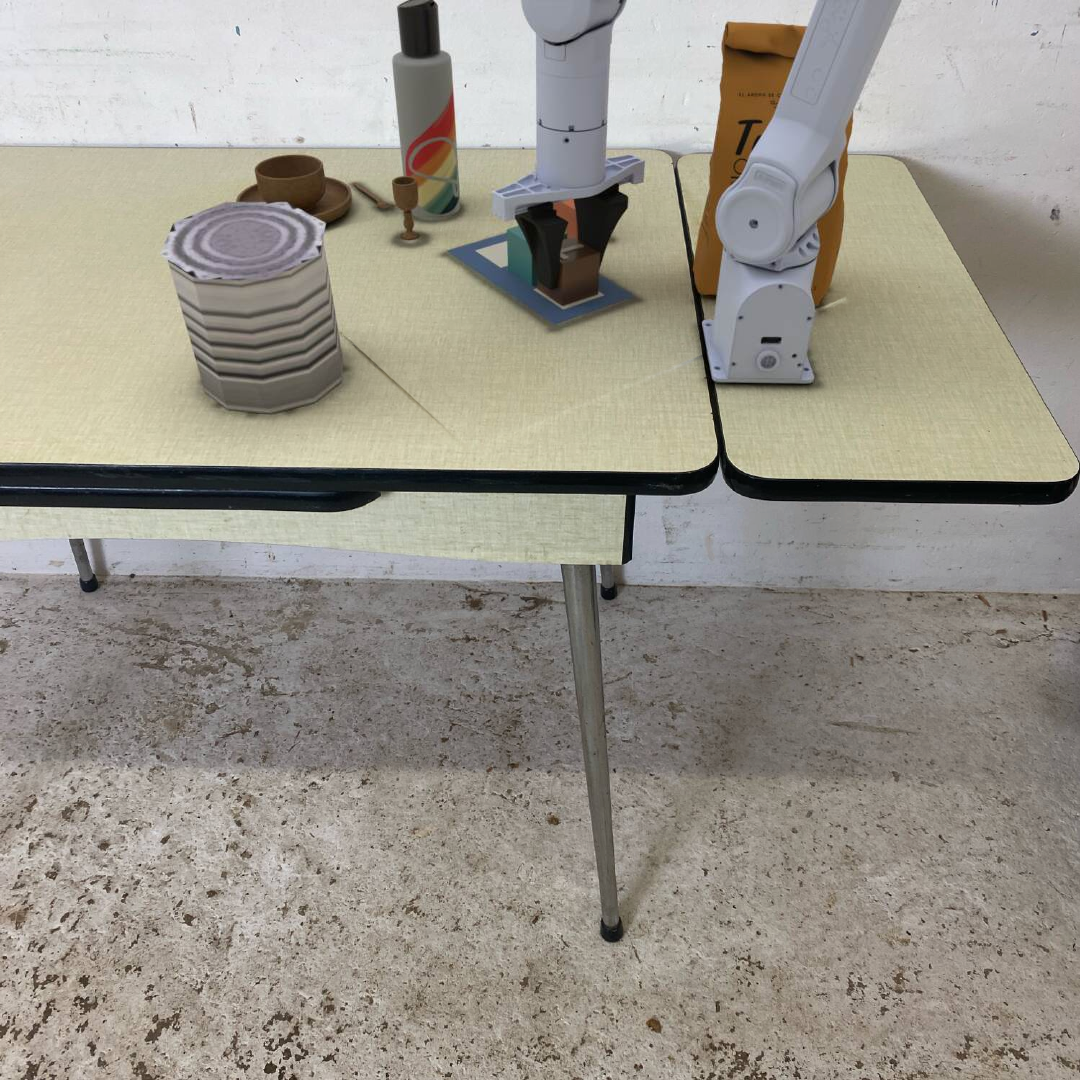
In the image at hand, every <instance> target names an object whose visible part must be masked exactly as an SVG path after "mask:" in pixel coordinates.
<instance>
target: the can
mask: <svg viewBox="0 0 1080 1080" xmlns="http://www.w3.org/2000/svg"><path fill="white" fill-rule="evenodd" d="M326 226H327V224H326V223H325V222H323V221H321V220H319V219H317V218H315V217H314V216H312V215H310V214H308V213H306V212H304V211H302V210H301V209H299V208H297V207H295V206H293V205H291V204H289V203H288V202H236V201H225V202H222V203H219V204H217V205H214V206H212V207H209V208H207V209H204V210H201V211H200V212H197V213H194V214H191V215H189V216H187V217H184V218H182V219H179V220H176V221H174V222H172V226H171V228H170V230H169V232H168V235H167V238H166V240H165V242H164V245H163V247H162V249H161V252H160V253H159V254H160V256H161V257H163V258H164V259H166V260H167V263H168V267H169V270H170V274H171V278H172V281H173V285H174V288H175V291H176V295H177V299H178V302H179V307H180V309H181V314H182V316H183V320H184V323H185V327H186V330H187V334H188V337H189V341H190V344H191V348H192V352H193V355H194V359H195V362H196V366H197V370H198V373H199V377H200V380H201V383H202V388H203V391H204V393H205V394H206V395H208V396H209V397H210V398H211V399H212V400H214V401H216V402H217V403H218V404H219V405H221V406H222V407H224V408H225V409H226V410H227V411H237V412H246V413H257V414H266V415H272V414H276V413H280V412H284V411H288V410H292V409H295V408H299V407H304V406H307V405H311V404H315V403H317V402H318V401H320V400H321V399H322V398H323V397H324V396H325V395H327V394H328V393H329V392H331V391H332V390H333V389H334V388H336V387H337V386H338V385H340V384H341V383H342V382H343V373H344V372H343V371H344V369H343V366H344V358H343V352H342V351H343V350H342V345H341V339H340V332H339V328H338V327H339V326H338V321H337V314H336V309H335V303H334V295H333V289H332V283H331V278H330V277H331V276H330V271H329V266H328V265H329V264H328V259H327V254H326V247H325V240H324V235H325V231H326Z"/></svg>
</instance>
